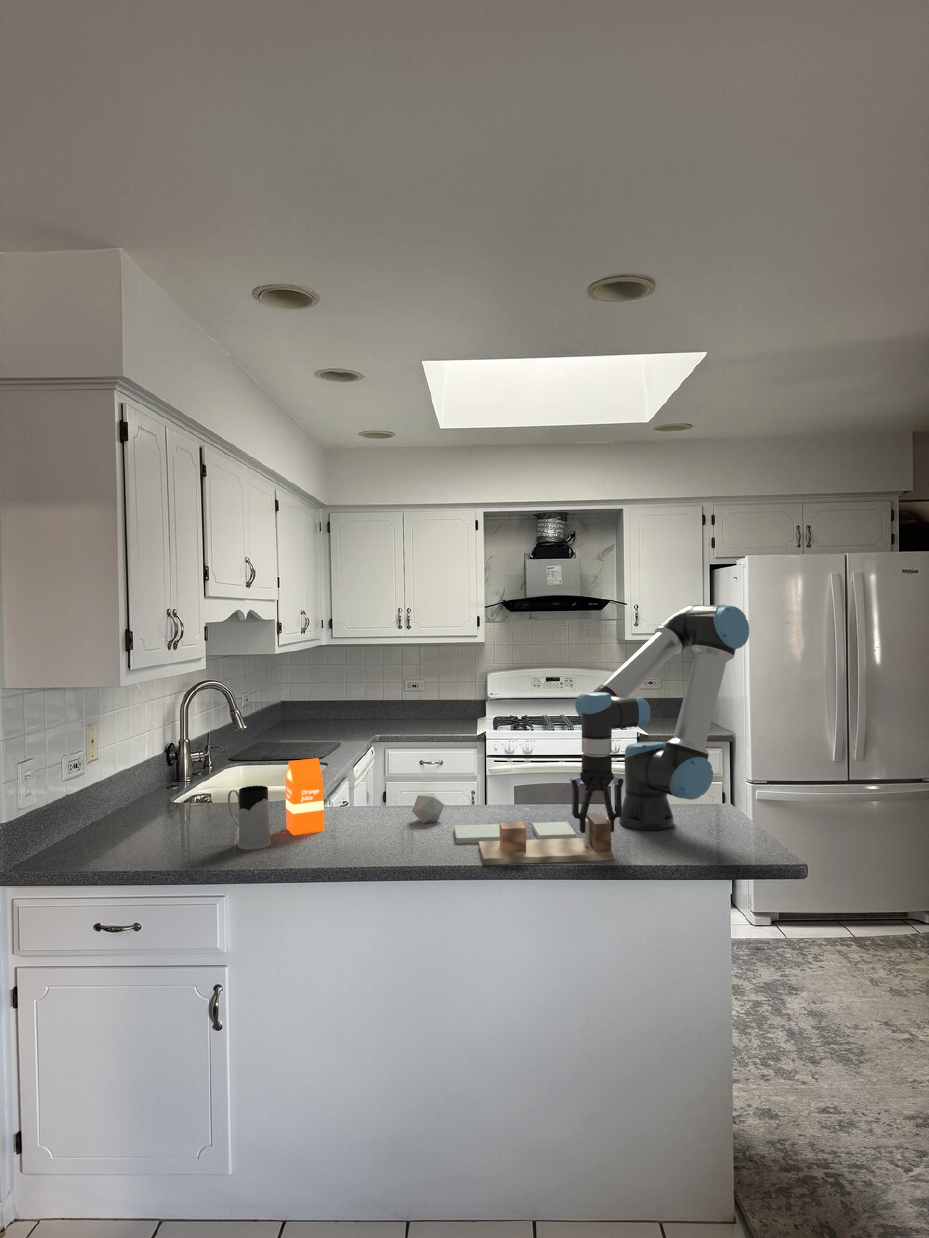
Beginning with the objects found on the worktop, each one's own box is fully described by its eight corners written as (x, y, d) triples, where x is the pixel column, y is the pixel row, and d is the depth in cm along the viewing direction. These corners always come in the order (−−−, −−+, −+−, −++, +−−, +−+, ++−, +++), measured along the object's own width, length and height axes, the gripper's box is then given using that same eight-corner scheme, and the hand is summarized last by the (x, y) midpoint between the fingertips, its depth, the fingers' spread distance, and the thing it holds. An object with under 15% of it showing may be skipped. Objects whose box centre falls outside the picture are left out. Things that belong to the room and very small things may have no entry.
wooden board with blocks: (599, 842, 215) (599, 810, 215) (613, 860, 201) (612, 825, 201) (478, 847, 213) (478, 814, 213) (483, 864, 199) (483, 830, 199)
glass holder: (253, 851, 212) (252, 794, 212) (216, 843, 220) (215, 787, 220) (278, 842, 220) (277, 787, 219) (241, 835, 227) (240, 781, 227)
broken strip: (567, 826, 231) (567, 821, 231) (576, 839, 219) (575, 833, 219) (454, 830, 229) (454, 825, 229) (456, 843, 217) (456, 838, 217)
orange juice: (286, 828, 233) (284, 758, 233) (316, 824, 237) (314, 755, 237) (293, 835, 226) (292, 763, 226) (324, 830, 230) (323, 760, 230)
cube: (522, 844, 210) (522, 821, 210) (526, 851, 204) (526, 828, 204) (499, 845, 209) (499, 822, 209) (502, 852, 203) (502, 828, 203)
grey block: (434, 817, 245) (415, 792, 245) (453, 807, 240) (433, 782, 240) (422, 834, 238) (401, 808, 238) (441, 823, 234) (420, 797, 233)
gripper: (627, 750, 212) (627, 839, 212) (559, 751, 211) (559, 841, 211) (635, 755, 204) (635, 848, 205) (564, 757, 203) (564, 850, 204)
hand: (596, 844), depth 208 cm, fingers closed on wooden board with blocks, 5 cm apart
